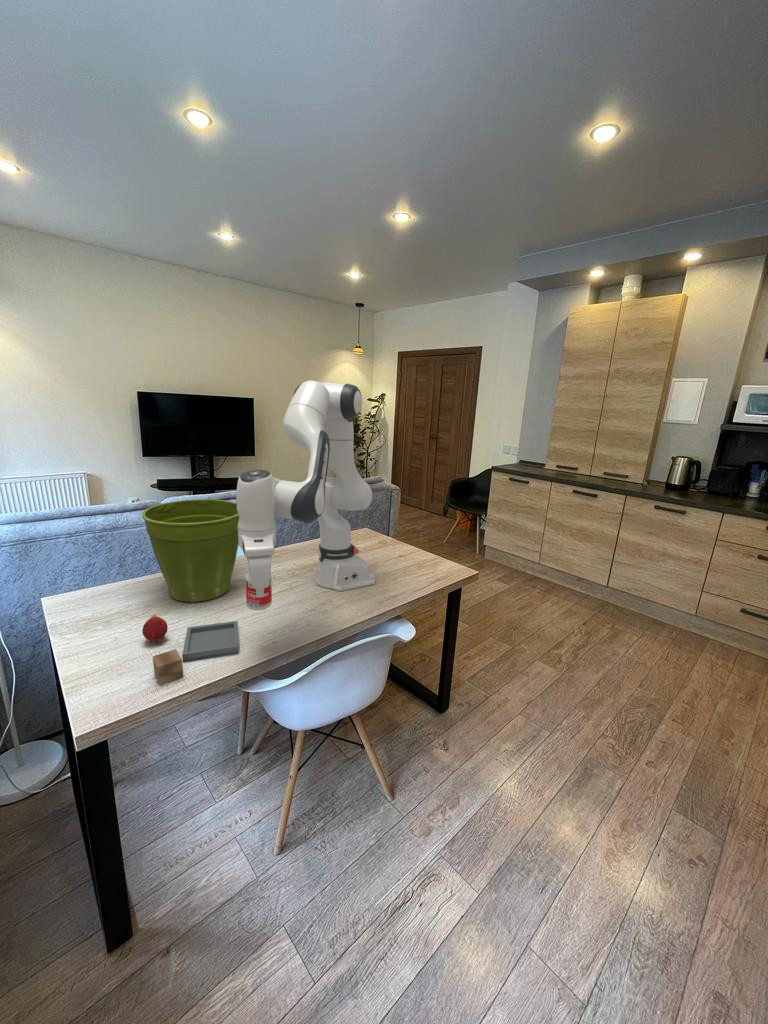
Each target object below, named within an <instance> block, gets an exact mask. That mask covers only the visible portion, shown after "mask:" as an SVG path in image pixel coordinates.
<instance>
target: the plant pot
mask: <svg viewBox="0 0 768 1024" xmlns="http://www.w3.org/2000/svg"><path fill="white" fill-rule="evenodd" d="M141 518H142V519H143V520H144V523H145V524H144V525H145V528H146V533H147V534H148V536H149V537H148V538H149V540H150V545H151V547H152V551H153V553H154V555H155V556H154V557H155V559H156V562H157V565H158V567H159V569H160V572H161V575H162V576H163V578H164V581H165V583H166V584H167V589H168V593H169V596H170V597H172V599H175V600H177V601H179V602H185V603H188V602H189V603H196V602H204V601H210V600H212V599H215V598H219V597H220V596H222V595H224V594H225V593H226V592H228V591H229V589H230V588H231V586H232V575H233V572H234V567H235V563H236V559H237V555H238V550H239V549H238V548H239V545H238V521H239V515H238V512H237V504H236V502H234V501H230V500H223V499H214V498H213V499H212V498H211V499H210V498H209V499H207V498H199V499H197V498H196V499H185V500H184V499H183V500H175V501H168V502H164V503H160V504H156V505H152V506H149V507H147V508H146V509H144V510H143V511H142V513H141Z"/></svg>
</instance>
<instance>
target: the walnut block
mask: <svg viewBox="0 0 768 1024" xmlns="http://www.w3.org/2000/svg"><path fill="white" fill-rule="evenodd" d="M152 664H153V673H154V676H155V679H156V681H157V683H158V685H159V687H161V686H163V684H164V685H167V684H169V683H172V682H175V681H177V680H180V679H183V678H184V666H183V658H182V656H181V655H180V653H179V651H178V650H177V649H176V648H174V649H171V650H168V651H165V652H162V653H159V654H156V655H153V656H152ZM166 683H167V684H166Z"/></svg>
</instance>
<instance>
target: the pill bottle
mask: <svg viewBox="0 0 768 1024" xmlns="http://www.w3.org/2000/svg"><path fill="white" fill-rule="evenodd" d="M272 583H273V582H272V574H270V583H269V587H267V588H264V596H263V597H259V598H258V597H256V589H254V588H253V587H252V582H251V577H250V571H249V565H248V573H247V574H246V576H245V597H246V600H245V602H246V607H247V608H248V609H249V610H252V611H263V610H264V611H265V610H266V609H268V608H270V607H271V606H272V603H273V601H272V600H273V599H272V595H273V593H272V591H273V590H272V588H273V587H272Z"/></svg>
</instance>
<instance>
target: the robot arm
mask: <svg viewBox="0 0 768 1024" xmlns="http://www.w3.org/2000/svg"><path fill="white" fill-rule="evenodd" d="M362 406H363V397H362V392H361V390H360V388H359V387H358V386H356V385H354V384H352V383H339V382H332V381H331V382H329V381H327V382H320V381H317V380H310V379H309V380H307V381H304V382H302V383H301V384H299V385H298V386H296V388H295V389H294V391H293V395H292V398H291V400H290V402H289V404H288V406H287V408H286V412H285V414H284V416H283V417H284V418H283V422H282V428H283V431H284V434H285V436H286V437H287V438H288V439H289V440H290V441H291V443H293V444H294V445H295V446H297V447H298V448H300V449H302V450H304V451H306V452H308V453H309V454H310V457H309V461H308V462H309V464H308V468H307V469H308V470H307V476H306V479H304V480H303V481H300V482H299V481H293V480H292V481H290V480H285V479H279V478H277V477H275V476H273V474H272V473H271V471H269V470H266V469H258V468H257V469H253V470H247V471H244V472H243V473H241V474H240V475H239V476H238V479H237V485H236V500H235V501H236V502H235V503H236V504H237V512H238V515H239V521H238V548H239V547H240V549H241V550H242V552H243V554H244V558H246V559H247V564H248V566H249V571H250V577H251V582H252V587H253V588H254V589H256V597H258V598H259V597H263V596H264V588H267V587H269V583H270V574H271V572H272V556H274V555H275V547H276V545H277V524H276V519H275V517H277V518H280V519H289V520H294V521H297V522H301V523H305V524H311V523H312V522H314V521H316V520H317V521H318V524H319V525H318V526H319V544H318V553H317V554H318V560H319V561H318V567H317V573H316V577H315V580H314V582H315V583H316V584H317V585H318V586H319V587H322V588H327V589H332V590H334V591H338V592H343V591H347V590H348V591H349V590H353V589H358V588H361V587H366V586H370V585H375V583H376V577H375V575H374V573H373V572H372V571H370V568H369V564H368V563H367V561H366V560H365V559H364V558H362V557H361V556H359V553H360V550H359V548H358V547H357V546H356V545H354V544H353V543H351V535H352V527H351V524H350V523H349V521H348V520H347V519H346V518H344V517H342V516H341V515H340V514H339V512H338V510H342V511H351V512H354V511H362V510H363V511H365V510H366V509H368V508H369V506H370V505H371V503H372V500H373V491H372V488H371V486H370V485H369V483H368V482H366V481H365V480H364V479H363V478H362V476H361V475H360V473H359V472H358V469H357V467H356V464H355V455H354V452H355V451H354V440H355V438H354V434H355V431H354V421H353V420H355V419H356V418H357V417H358V416H359V415H360V413H361V411H362ZM328 468H329V469H331V470H332V471H333V473H334V475H336V477H329V476H328ZM249 571H248V572H249ZM271 575H272V574H271Z"/></svg>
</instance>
